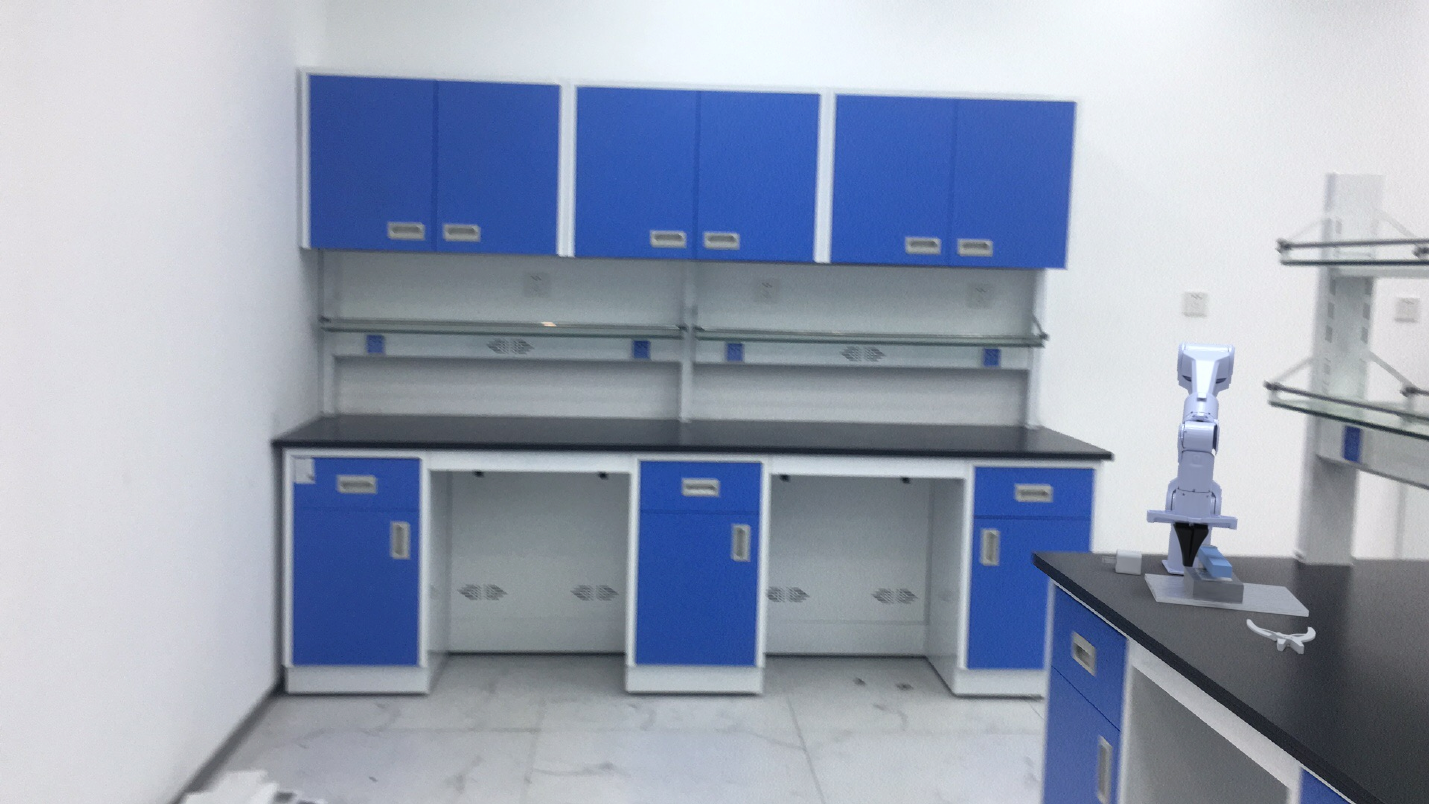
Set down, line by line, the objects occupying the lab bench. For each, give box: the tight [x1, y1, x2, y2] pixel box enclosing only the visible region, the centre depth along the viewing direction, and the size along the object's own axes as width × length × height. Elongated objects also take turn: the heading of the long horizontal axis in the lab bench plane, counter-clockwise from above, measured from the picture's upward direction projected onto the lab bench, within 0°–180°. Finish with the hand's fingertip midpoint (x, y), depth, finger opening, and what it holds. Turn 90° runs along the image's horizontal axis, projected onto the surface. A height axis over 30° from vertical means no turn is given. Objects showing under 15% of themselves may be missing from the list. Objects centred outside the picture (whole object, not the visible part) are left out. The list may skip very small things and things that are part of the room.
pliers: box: [1246, 618, 1316, 655], centre depth 174 cm, size 10×2×15 cm
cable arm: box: [1196, 544, 1233, 578], centre depth 197 cm, size 17×4×2 cm, turn 166°
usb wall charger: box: [1101, 548, 1143, 576], centre depth 213 cm, size 4×7×4 cm, turn 72°
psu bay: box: [1144, 559, 1310, 618], centre depth 197 cm, size 16×24×5 cm, turn 76°
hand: (1187, 565), depth 196 cm, fingers closed
